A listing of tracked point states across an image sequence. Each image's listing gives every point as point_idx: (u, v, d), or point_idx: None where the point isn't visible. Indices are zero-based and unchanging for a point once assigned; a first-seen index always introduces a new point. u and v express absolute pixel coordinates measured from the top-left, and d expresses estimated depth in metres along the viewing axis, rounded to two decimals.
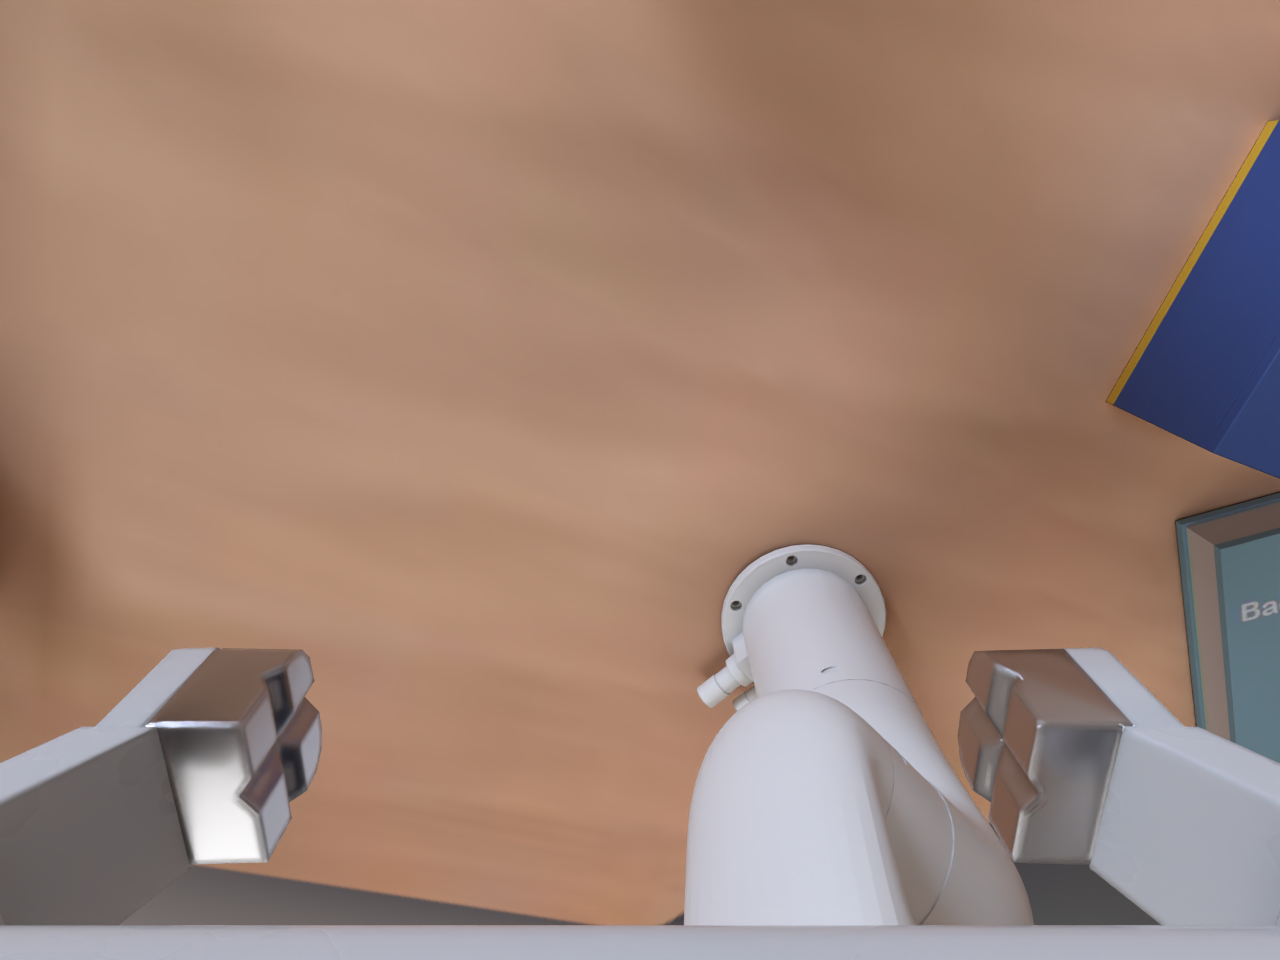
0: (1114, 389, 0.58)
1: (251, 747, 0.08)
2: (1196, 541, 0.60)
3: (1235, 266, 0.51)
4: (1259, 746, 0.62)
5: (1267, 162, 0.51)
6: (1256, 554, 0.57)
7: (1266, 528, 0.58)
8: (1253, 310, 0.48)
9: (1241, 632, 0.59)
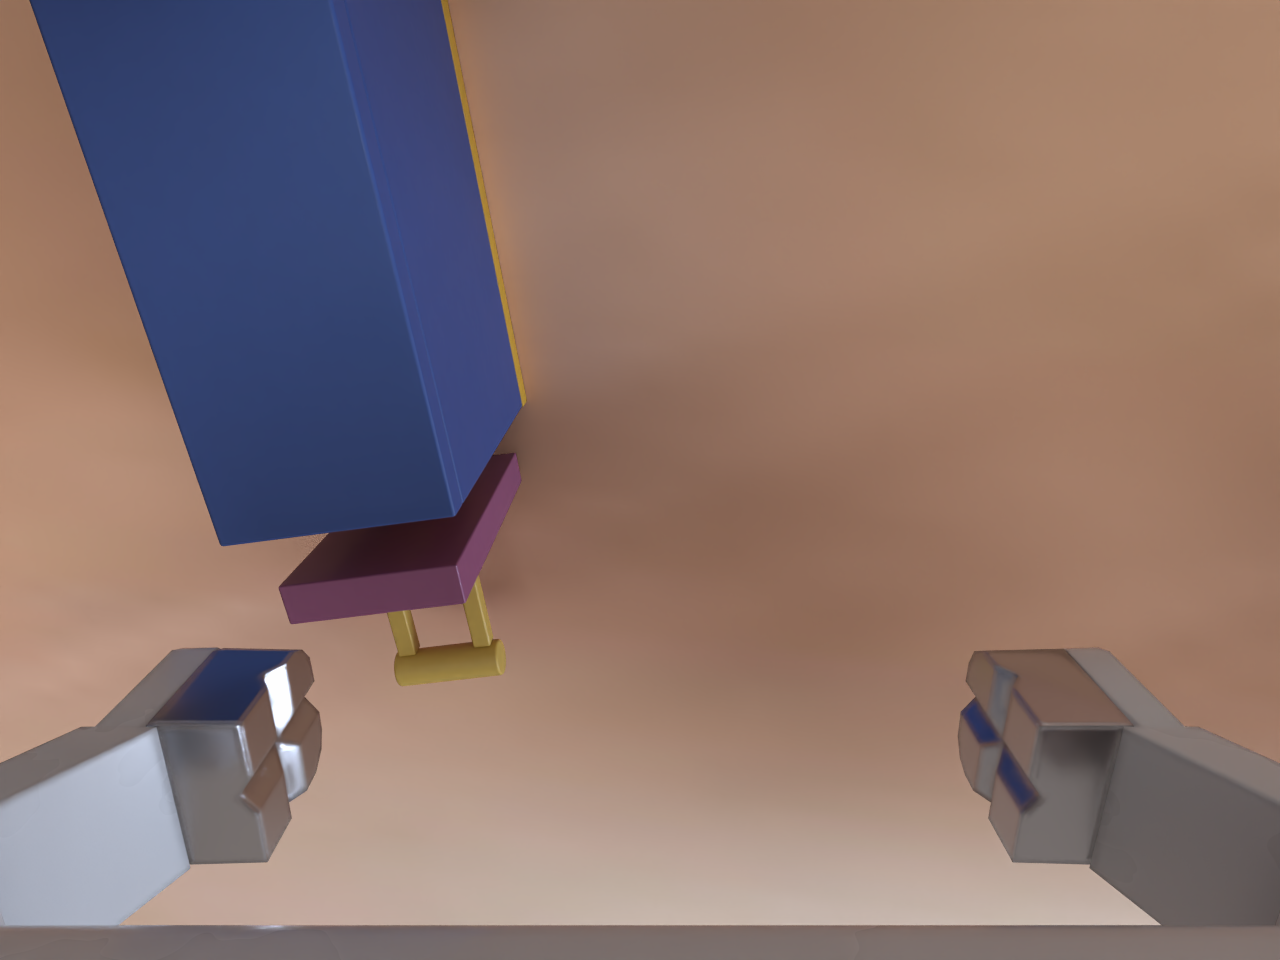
0: None
1: (251, 747, 0.08)
2: None
3: (443, 145, 0.24)
4: None
5: (502, 343, 0.29)
6: None
7: None
8: (388, 40, 0.20)
9: None
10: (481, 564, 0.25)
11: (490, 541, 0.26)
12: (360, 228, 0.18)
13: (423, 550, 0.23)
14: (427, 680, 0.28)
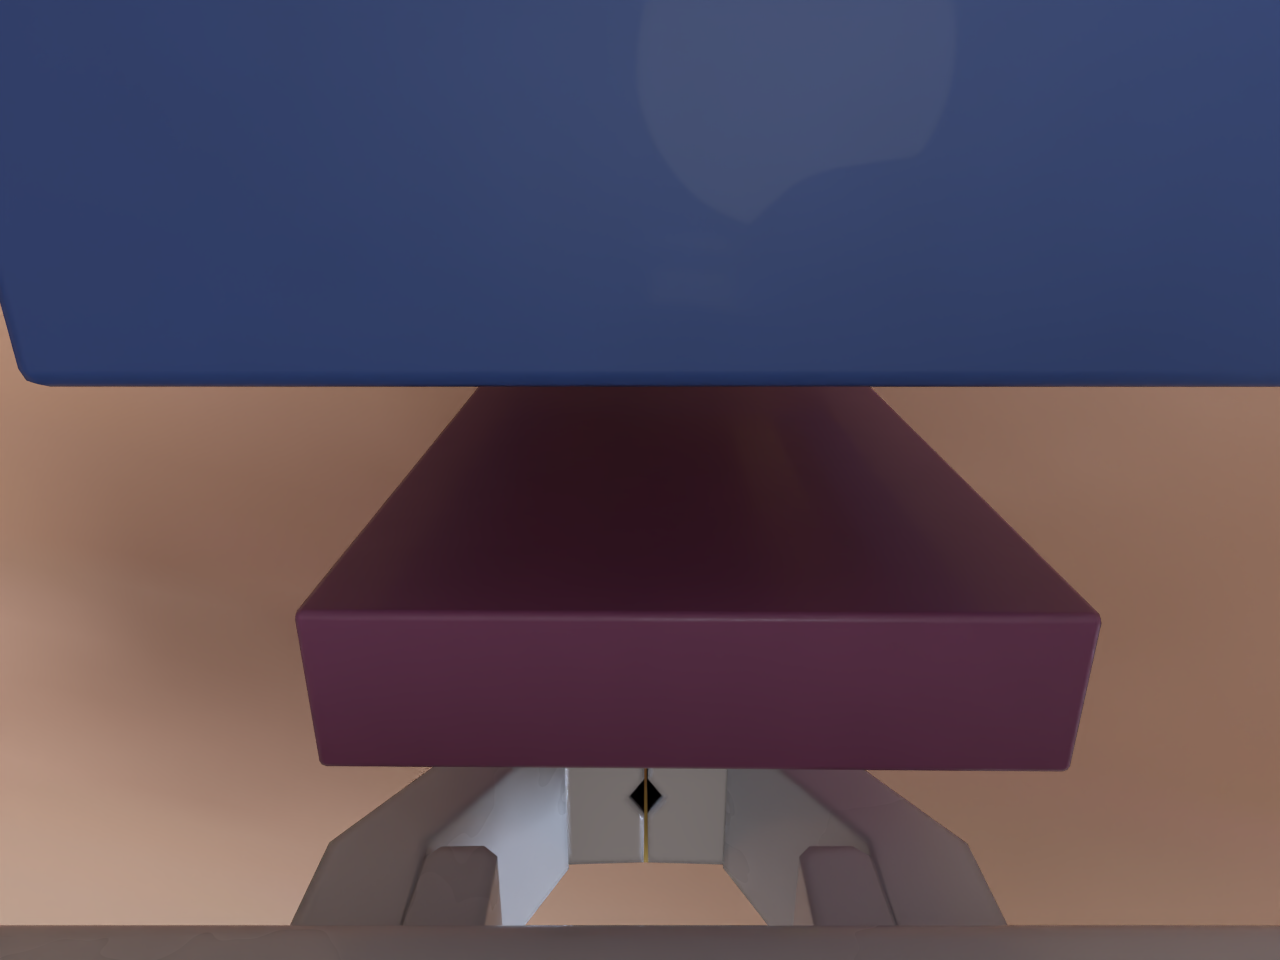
0: None
1: None
2: None
3: None
4: None
5: None
6: None
7: None
8: None
9: None
10: None
11: None
12: None
13: (850, 529, 0.06)
14: None
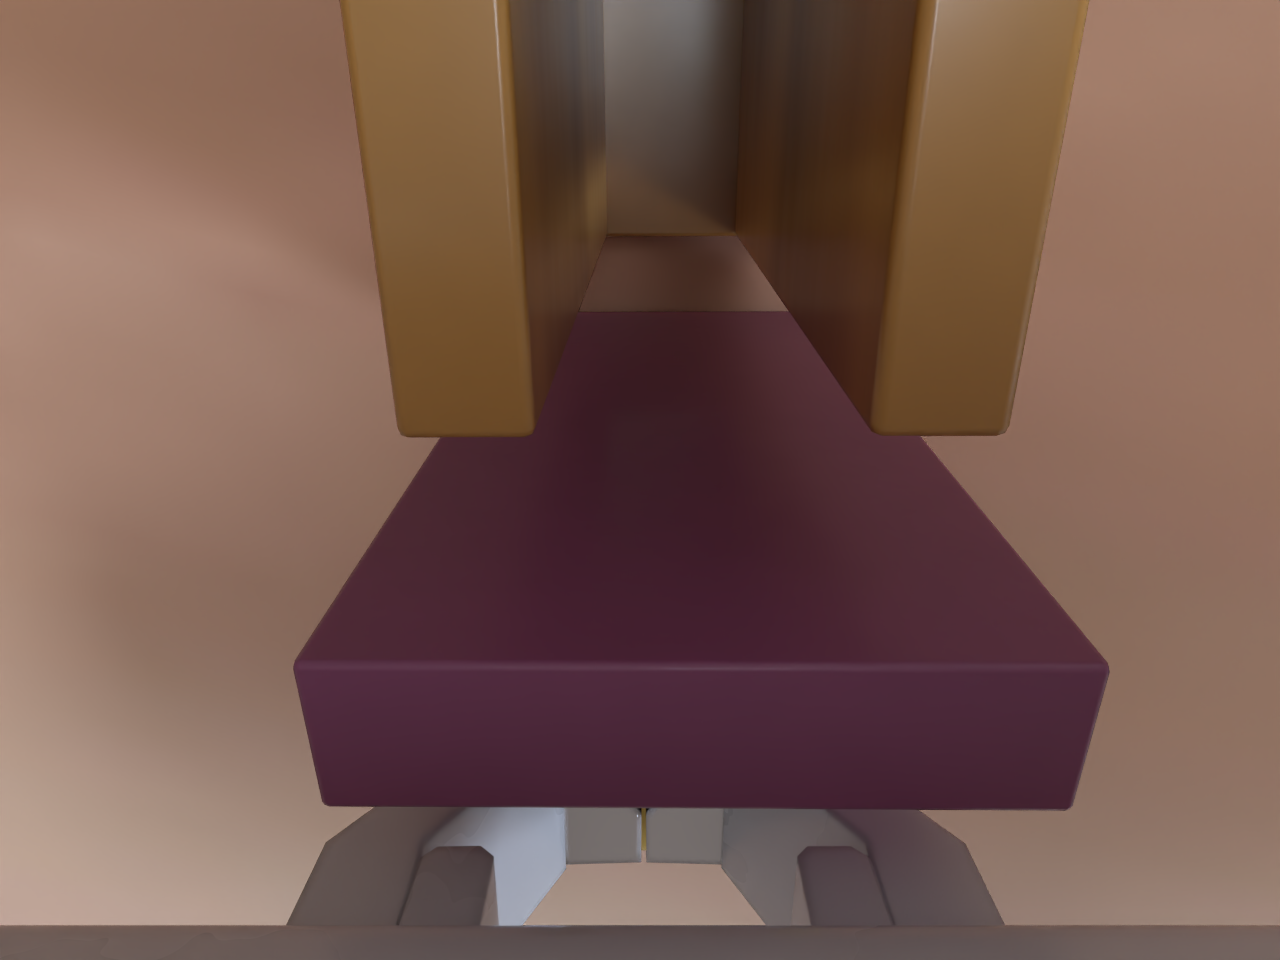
0: None
1: None
2: None
3: None
4: None
5: None
6: None
7: None
8: None
9: None
10: None
11: None
12: None
13: (854, 561, 0.06)
14: None
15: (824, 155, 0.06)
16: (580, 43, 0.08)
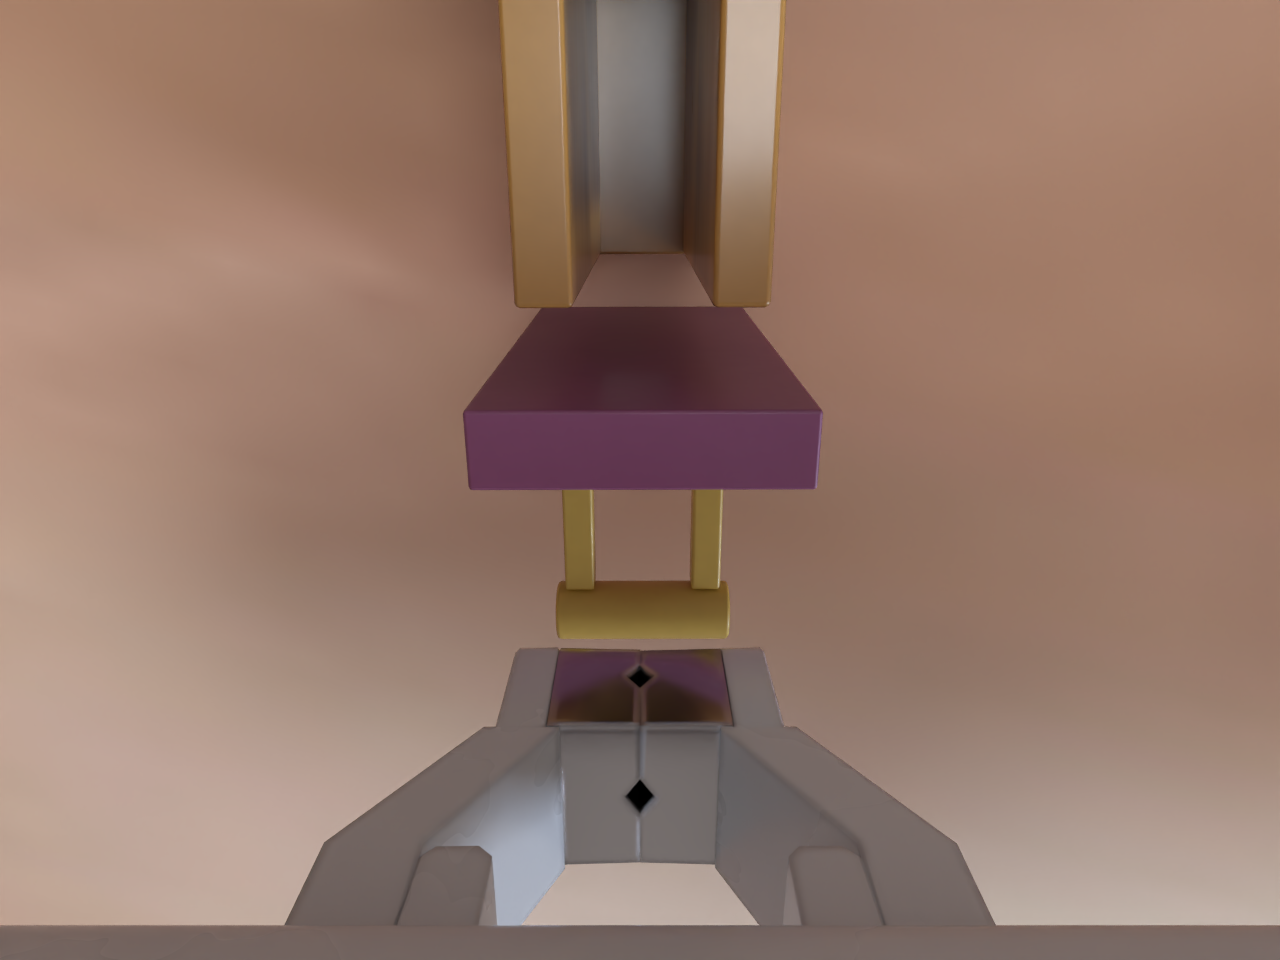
0: None
1: (640, 747, 0.08)
2: None
3: None
4: None
5: None
6: None
7: None
8: None
9: None
10: None
11: None
12: None
13: (722, 388, 0.13)
14: (608, 633, 0.17)
15: (704, 195, 0.13)
16: (587, 139, 0.14)
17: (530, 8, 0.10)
